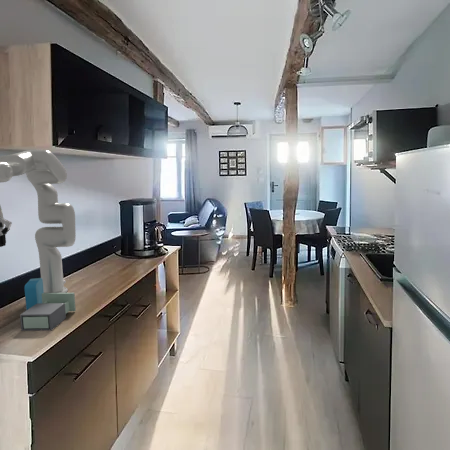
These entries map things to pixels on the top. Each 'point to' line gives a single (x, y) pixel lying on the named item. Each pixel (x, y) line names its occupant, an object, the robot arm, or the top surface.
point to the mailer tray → (50, 298)
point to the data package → (33, 292)
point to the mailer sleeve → (45, 314)
